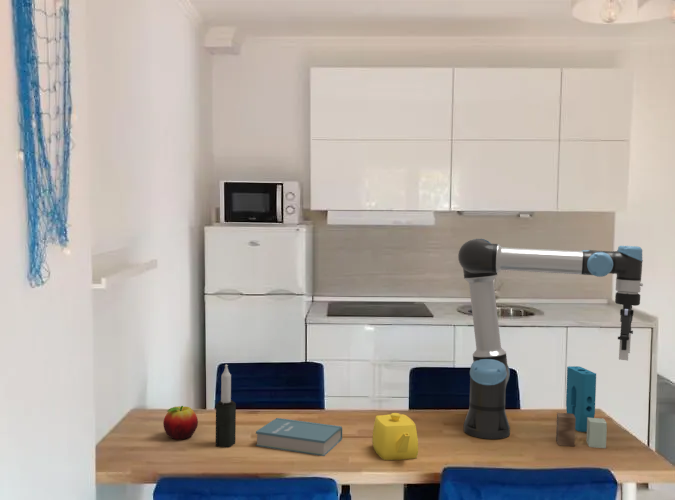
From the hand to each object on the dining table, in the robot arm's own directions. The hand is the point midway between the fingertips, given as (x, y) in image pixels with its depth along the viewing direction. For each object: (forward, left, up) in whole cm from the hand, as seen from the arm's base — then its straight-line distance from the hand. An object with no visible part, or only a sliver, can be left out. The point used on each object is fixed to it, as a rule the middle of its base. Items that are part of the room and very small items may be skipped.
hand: (624, 356), depth 216 cm
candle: (-124, -42, -27) cm, 133 cm away
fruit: (-140, -38, -27) cm, 148 cm away
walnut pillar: (-20, -13, -27) cm, 36 cm away
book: (-102, -34, -27) cm, 111 cm away
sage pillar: (-10, -12, -27) cm, 31 cm away
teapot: (-72, -36, -27) cm, 84 cm away
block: (-13, +5, -27) cm, 30 cm away
